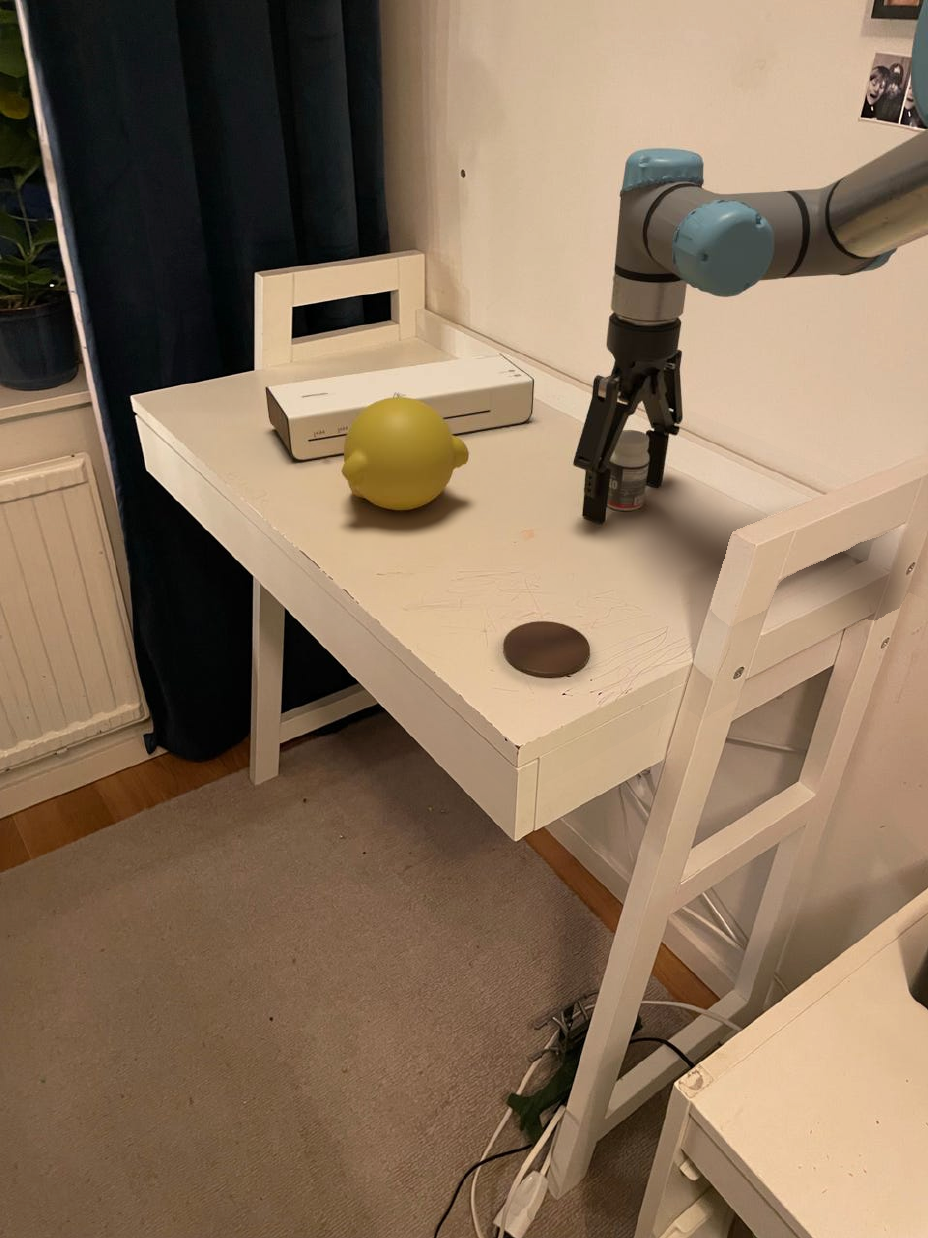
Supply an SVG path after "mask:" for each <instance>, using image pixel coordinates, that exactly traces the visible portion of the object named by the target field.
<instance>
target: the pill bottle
mask: <svg viewBox="0 0 928 1238" xmlns="http://www.w3.org/2000/svg"><path fill="white" fill-rule="evenodd" d="M648 447H649V437H648V436H647V435H646V432H642V431H639V430H635V429H626V430H625V429H623V431H622V433H621V435H620V438H619V440H618V442H617V445H616V447H615V449H614V452H613V454H612V456H611V459H610V461H609V463H608V466H607V468H608V469H611V475H610V484H609V493H608V501H607V508H610V509H612V510H616V511H622V512H630V511H636V510H638V509H640V508H641V507H642V506H643V504H644V500H645V493H646V485H647V484H646V479H647V472H648V465H649V454H648V452H647V450H648Z"/></svg>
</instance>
